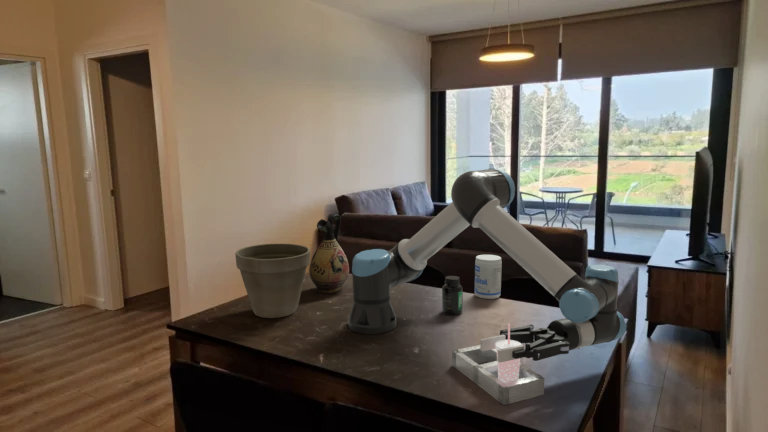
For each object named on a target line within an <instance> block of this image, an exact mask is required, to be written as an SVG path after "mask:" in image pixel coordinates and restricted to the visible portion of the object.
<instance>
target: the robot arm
mask: <svg viewBox="0 0 768 432" xmlns="http://www.w3.org/2000/svg"><path fill="white" fill-rule="evenodd" d="M515 192H516V186H515V182H514V180H513V178H512V177H511V175H510V174H509V173H508V172H506V171H505V170H503V169H500V168H487V169H481V170H480V169H478V170H470V171H466V172H463V173H462V174H460V175H459V176H458V177H457V178H456V179H455V180H454V183H453V184H452V187H451V193H450V194H451V195H450V196H451V201H452V202H450V204H448V205H447V206H445V208H443V209H442V210H441V211H440V212H439V213H437V215H436V216H434V217H433V218H432V219H431V220H430V221H429V222H428V223H427V224H425V225H424V226H423V227H422V228H421V229H420V230H419V231H417V232H416V233H415V234H414V235H412V236H411V238H403V239H401V240H400V241H399V242H398V243H397V244H396V245H394V246H393V248H391V249H390V250H386V249H383V248H373V249H366V250H362V251H360V252H359V253H358V252H357V254H355V255H354V257H353V258H352V265H351V273H352V274H351V275H352V295H353V296H352V297H353V299H352V306H351V310H350V313H349V316H348V319H347V320H348V321H347V322H348V328H349V329H350V330H351V331H353V332H355V333H358V334H365V335H374V334H375V335H377V334H383V333H387V332H390V331H392V330H394V329H395V328H396V327H397V316H396V313H395V310H394V308H393V305H392V302H391V301H392V300H391V288H394V287H397V286H400V285H402V284H406V283H410V282H412V281H414V280H416V279H418V278H419V277H420V276H421V275H422V273H423V271H424V269H425V268H426V266H427V264H428V263H427V262H428V260H429V259H431V257H433V256H434V255H435V254H437V252H439V251H440V250H441V249H443V248H444V247H445V246H446V245H447V244H448V243H449V242H451V241H452V240H453V239H455V238H456V237H457V236H458V235H459V234H460V233H462V232H463V231H464V230H465V229H467V228H468V227H470V226H471V227H472V228H476V229H477V228H479V229H480V230H481V231H483V232H484V233H485V234H486V235H487V236H488V237H489V238H490V239H491V240H492V241H493V242H494V243H496V245H498V246H499V247H500V248H501V249H502V250H503V251H504V252H505V253H506V254H507V255H509V257H510V258H512V259H513V260H514V261H515V262H516V263H517V264H518V265H519V266H520V267H521V268H522V269H523V270H525V271H526V272H527V273H528V274H529V275H530V276H531V277H532V278H533V279H534V280H535V281H536V282H538V284H539V285H541V286H542V287H543V288H544V289H545V290H546V291H547V292H548V293H549V294H551V296H553V297H554V298H555V299H556V300H557V301H558V306H559V309H560V313H561V315H562V316H564V318H561V319H555V320H552V321H550V323H549V324H548V326H546V327H540V328H534V327H535V326H534V324H527V325H523V326H519V327H518V326H517V327H513V328H511V327H510V340H514V341H518V342H520V343H521V344H522V345H518V346H513V347H509V348H504V349H499V350H498V362H499V363H501V362H505V361H510V360H514V359H519V358H520V359H522V358H523V359H524V358H526V359H532V361H535V362H537V361H542V360H544V359H549V358H552V357H555V356H560V355H568V354H569V353H570V351H573V350H580V349H582V348H584V347H585V348H586V347H589V346H594V345H599V344H604V343H611V342H613V341H617V340H618V339H621V338H623V337H624V336H625V334H626V332H627V323H626V322H625V317H624V316H623V314H622V313H620V312H619V311H618V296H619V295H618V291H619V284H620V281H619V271H618V269H617V268H615V267H614V266H612V265H607V264H590V265H588V266H587V267H586V269H585V275H584V279H583V278H582V277H580V275H578V274H577V272H575V270H573V269H572V268H571V267H570V266H568V264H566V262H564V261H562V259H560V258H559V257H558V256H557V255H556V254H555V253H554V252H553V251H552V250H550V249H549V248H548V247H547V246H546V245H545V244H544V243H542V242H541V240H540V239H538V238H537V237H535V236H534V235H533V233H531V232H530V231H529V230H527V228H526V227H524V226H523V225H522V224H521V223H520V222H519V221H517V219H516V218H514V217H513V216H512V215H511V214H510V213H508V211H506V210H505V208H506V207H507V206H509V205H510V204H511V203H512V202H513V200H514V198H515V195H516V193H515ZM500 340H508V328H505V329H500V330H499V335H495V336H490V337H489V336H488V337H485V338H480V342H479V345H480V350H481V351H486V350H491V349H496V348H495V347H496V346H495V344H496V342H497V341H500ZM523 344H525V346H524V345H523Z"/></svg>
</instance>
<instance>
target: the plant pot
mask: <svg viewBox="0 0 768 432" xmlns="http://www.w3.org/2000/svg"><path fill="white" fill-rule="evenodd" d="M234 257H235V264H236V269H238V270H239V271H240V275H241V279H242V281H243V284H244V288H245V292H246V295H247V296H248V300H249V302H250V303H249V304H250V307H251V309H252V312H253V314H254V315H255V316H257V317H260V318H264V319H276V318H277V319H278V318H283V317H287V316H290V315H292V314H295V312H296V311H297V309H298V306H299V303H300V298H301V295H302V294H301V293H302V291H303V287H304V286H303V285H304V281H305V277H306V272H307V268H308V267H309V266H310V263H311V249H310V248H309V247H308V246H305V245H301V244H295V243H264V244H262V243H261V244H256V245H255V244H254V245H250V246H245V247H242V248H239V249H238V250H236V252H235V256H234Z"/></svg>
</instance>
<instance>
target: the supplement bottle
mask: <svg viewBox="0 0 768 432" xmlns="http://www.w3.org/2000/svg"><path fill="white" fill-rule="evenodd" d="M460 279H461V278H460V276H457V275H447V276H445V278H444V285H442V288H441V309H442V310H441V311H442V313H443V314H445V315H448V316H458V315H461V314H462V313H463V307H464V306H463V305H464V303H463V301H464V300H463V299H464V297H463V295H464V293H463V291H464V290H463V289H464V288H463V286H462V285H461V281H460Z"/></svg>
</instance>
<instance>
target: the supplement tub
mask: <svg viewBox="0 0 768 432" xmlns="http://www.w3.org/2000/svg"><path fill="white" fill-rule="evenodd" d="M502 264H503V263H502V257H501V256H499V255H495V254H480V255H479V254H478V255H476V256H475V261H474V295H475V297H478V298H481V299H484V300H485V299H486V300H487V299H488V300H495V299H498V298H499V297H500V296H501V292H502V289H501V288H502V269H503V268H502V267H503V266H502Z"/></svg>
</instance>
